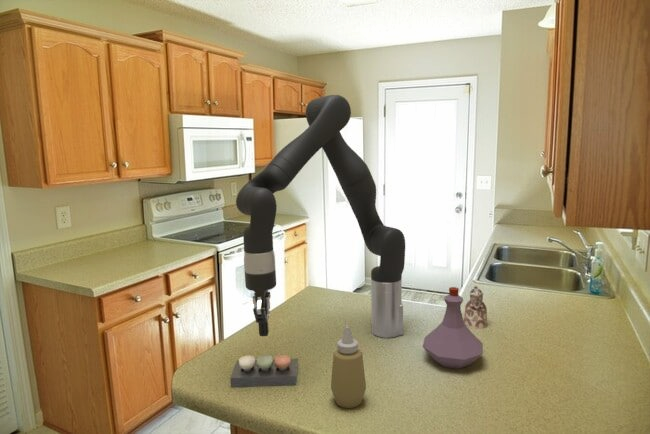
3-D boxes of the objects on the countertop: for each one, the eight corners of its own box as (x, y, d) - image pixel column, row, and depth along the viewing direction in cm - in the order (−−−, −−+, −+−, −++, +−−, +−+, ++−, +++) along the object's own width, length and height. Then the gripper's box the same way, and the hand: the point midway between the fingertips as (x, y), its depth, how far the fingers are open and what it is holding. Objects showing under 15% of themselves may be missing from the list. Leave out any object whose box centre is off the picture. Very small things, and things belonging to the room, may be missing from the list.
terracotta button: (291, 368, 116) (290, 354, 115) (290, 376, 112) (289, 361, 111) (276, 369, 116) (275, 354, 115) (274, 377, 112) (273, 362, 111)
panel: (297, 367, 118) (297, 358, 118) (296, 385, 109) (295, 376, 109) (237, 368, 118) (237, 360, 118) (230, 387, 109) (230, 378, 109)
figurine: (462, 327, 141) (463, 290, 139) (464, 318, 147) (465, 283, 145) (486, 330, 138) (487, 292, 136) (487, 321, 144) (488, 285, 143)
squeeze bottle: (329, 392, 106) (327, 321, 103) (363, 390, 106) (362, 318, 103) (333, 413, 98) (331, 335, 95) (369, 410, 98) (368, 333, 95)
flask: (409, 362, 119) (410, 290, 116) (438, 341, 131) (439, 275, 128) (469, 382, 108) (471, 304, 105) (494, 357, 121) (496, 286, 117)
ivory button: (256, 369, 116) (256, 355, 115) (254, 377, 112) (253, 362, 111) (241, 370, 116) (240, 355, 115) (238, 378, 112) (237, 363, 111)
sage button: (274, 369, 116) (273, 354, 115) (272, 377, 112) (271, 362, 111) (258, 369, 116) (258, 355, 115) (256, 377, 112) (255, 362, 111)
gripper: (272, 275, 102) (276, 346, 105) (277, 260, 115) (281, 323, 118) (239, 277, 102) (244, 347, 105) (248, 261, 115) (253, 324, 118)
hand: (264, 334), depth 112 cm, fingers closed
